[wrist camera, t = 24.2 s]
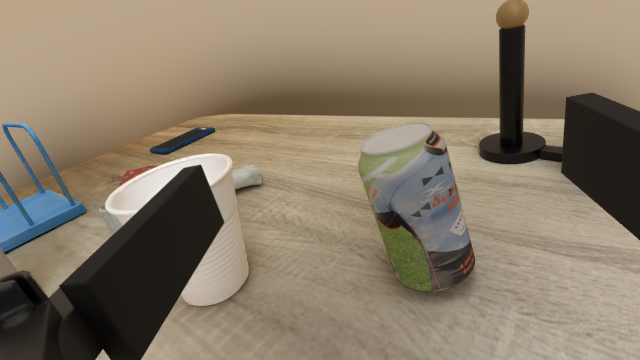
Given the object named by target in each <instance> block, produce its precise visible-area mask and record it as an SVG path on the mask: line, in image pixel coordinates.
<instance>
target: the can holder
mask: <svg viewBox="0 0 640 360" xmlns="http://www.w3.org/2000/svg"><path fill="white" fill-rule="evenodd" d="M528 15H529V8H528V5H527V4H526V2H524V1H523V0H508V1H506V2H504V3H503V4H502V5H501V6H500V7H499V9H498V11H497V13H496V22H497V24H498V26H499V27H500V28H501V29H500V30H499V68H500V69H499V70H500V71H499V73H500V133H497V134H493V135H490V136H487V137H485V138H484V139H482V140H481V141H480V143H479V151H480V155H481V157H482V158H484V159H486V160H488V161H491V162H495V163H503V164H517V163H525V162H530V161H533V160H536V159H538V158H540V159H547V160H553V161H560V162H562V155H563V147H555V146H547V145H546V141H545V139H544V138H543V137H542V136H540V135H537V134H534V133H529V132H523V104H524V103H523V102H524V101H523V100H524V57H525V25H523V24H524V23H525V21H526V20H527V18H528Z"/></svg>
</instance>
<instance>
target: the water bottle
mask: <svg viewBox="0 0 640 360" xmlns="http://www.w3.org/2000/svg"><path fill="white" fill-rule="evenodd" d="M16 272H18V271H17V270H16V268H15V267H14V266H13V264H12V263H11V262H10V260H9V259H8V258H7V256H6V255H5V254H4V252H3V251H2V250H1V248H0V278H2V277H4V276H7V275H10V274H12V273H16Z"/></svg>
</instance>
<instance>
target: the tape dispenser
mask: <svg viewBox="0 0 640 360" xmlns="http://www.w3.org/2000/svg"><path fill="white" fill-rule="evenodd" d="M155 167H158V166H147V167H144V168H139V169H135V170H130V171H127V172H126V173H125V174H124V176H123V177H121V178H120V179H121V183H120V186H122V185H123V184H124V183H126V182H127V181H129V180H131V179H133V178H134V177H136V176H138V175H140V174H142V173H144V172H146V171H148V170H151V169H153V168H155ZM232 177H233V183H234V188H235V189H239V188H242V187H245V186H250V185H261V184H262V176H261V173H260V171H259V169H257V168H256V167H255V166H253V165H252V164H248V165H247V166H245V167H243V168H241V169H236V170H232ZM120 186H119V187H120ZM99 212H102V215H103V217H104V219H105V221H106V223H107V225H108V227H109V229H110V230H111V231H112V232H113V233H114V234H115V233H116V232H117V231H118V230H119V229H120V228H121V227H122V226H123V225H122V223H121V222H120V221H119V220H118V218H117V217H116V216H115V215H113V214H110V213H109V212H108V211H107V210H106V209H105V206H104V207H103V208H99Z"/></svg>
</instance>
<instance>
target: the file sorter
mask: <svg viewBox="0 0 640 360" xmlns="http://www.w3.org/2000/svg"><path fill="white" fill-rule="evenodd" d="M2 127H3V130H4V133H5V134H6V136H7V138H8V140H9V141H10V143H11V144H12V146H13V148H14V150H15V151H16V153H17V154H18V156H19V158H20V159H21V161H22V163H23V164H24V166H25V168H26V169H27V171H28V172H29V174H30V176H31V177H32V179H33V180H34V182H35V184H36V186H37V187H38V189H39V190H40V193H38V194H36V195H33V196H31V197H29V198H26V199H24V200H22V201H19V200H18V198H17V197H16V195H15V194H14V192H13V191H12V189H11V188H10V186H9V185H8V183H7V181H6V180H5V178H4V177H3V175H2V174H1V172H0V182H1V183H2V184H3V186H4V187H5V189H6V191H7V192H8V194H9V195H10V197H11V198H12V200H13V201H14V203H15V204H13V205H10V206H8V207H7V205H6V204H5V202H4V201H3V199H2V198H1V197H0V204H1V205H2V207H3V209H1V210H0V248H1V250H2V251H3V252H6V251H8V250H10V249H12V248H14V247H16V246H18V245H20V244H22V243H24V242H26V241H28V240H30V239H32V238H34V237H36V236H38V235H40V234H42V233H44V232H46V231H48V230H50V229H52V228H54V227H56V226H58V225H61V224H63V223H65V222H67V221H69V220H71V219H73V218H75V217H77V216H79V215H81V214H82V213H84V212H86V209H85V207H84V206H83V204H82V203H81V202H78V201H76V200H73V199H72V197H71V195H70V193H69V192H68V190H67V188H66V186H65V185H64V183H63V181H62V179H61V177H60V176H59V174H58V172H57V170H56V169H55V167H54V165H53V163H52V162H51V160H50V158H49V156H48V154H47V153H46V151H45V149H44V147H43V146H42V144H41V142H40V141H39V139H38V137H37V136H36V134H35V133H34V132H33V130H32V129H31V128H30V127H29V126H28V125H26V124H23V123H4V124H2ZM7 127H19V128H24V129H25V130H26V131H27V132H28V133H29V134H30V136H31V137H32V138H33V140H34V142H35V143H36V145H37V147H38V149H39V150H40V152H41V154H42V155H43V157H44V159H45V161H46V162H47V164H48V166H49V168H50V169H51V171H52V173H53V175H54V176H55V178H56V180H57V182H58V183H59V185H60V187H61V189H62V191H63V192H64V194H65V196H63V195H61V194H58V193H56V192H53V191H50V190H45V191H44V189H43V188H42V186H41V184H40V183H39V181H38V180H37V178H36V176H35V175H34V173H33V171H32V170H31V168H30V166H29V165H28V163H27V162H26V160H25V158H24V157H23V155H22V153H21V152H20V150H19V149H18V147H17V145H16V143H15V142H14V140H13V138H12V137H11V135H10V133H9V131H8V128H7Z"/></svg>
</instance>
